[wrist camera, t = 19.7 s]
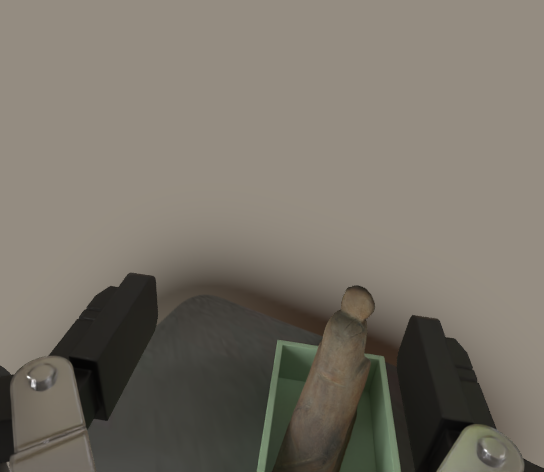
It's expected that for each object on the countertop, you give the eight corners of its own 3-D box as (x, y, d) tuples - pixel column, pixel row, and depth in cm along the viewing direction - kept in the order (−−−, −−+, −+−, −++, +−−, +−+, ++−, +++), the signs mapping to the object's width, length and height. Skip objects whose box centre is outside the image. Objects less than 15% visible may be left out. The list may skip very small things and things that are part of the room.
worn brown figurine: (314, 410, 46) (355, 260, 40) (361, 436, 43) (411, 281, 37) (257, 485, 36) (300, 301, 30) (314, 525, 33) (372, 332, 27)
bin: (248, 536, 33) (252, 498, 30) (273, 375, 47) (277, 339, 44) (391, 562, 32) (409, 526, 29) (373, 391, 46) (384, 356, 43)
